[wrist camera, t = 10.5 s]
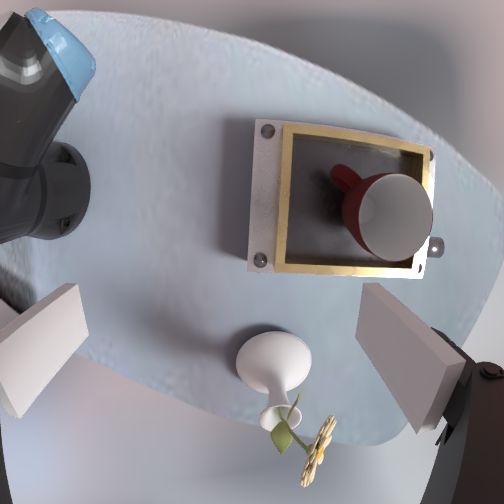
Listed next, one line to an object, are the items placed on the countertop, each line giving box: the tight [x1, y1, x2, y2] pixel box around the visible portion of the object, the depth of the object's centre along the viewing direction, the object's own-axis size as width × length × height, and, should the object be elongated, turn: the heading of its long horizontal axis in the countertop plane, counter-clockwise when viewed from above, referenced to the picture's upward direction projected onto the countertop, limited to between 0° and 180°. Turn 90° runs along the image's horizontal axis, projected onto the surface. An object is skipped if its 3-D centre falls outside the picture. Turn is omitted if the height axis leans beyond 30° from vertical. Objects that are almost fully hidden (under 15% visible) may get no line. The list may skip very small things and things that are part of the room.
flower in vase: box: [236, 331, 337, 487], centre depth 31 cm, size 13×11×25 cm
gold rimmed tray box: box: [247, 119, 444, 278], centre depth 34 cm, size 28×18×8 cm, turn 87°
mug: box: [330, 164, 433, 262], centre depth 28 cm, size 11×8×10 cm
